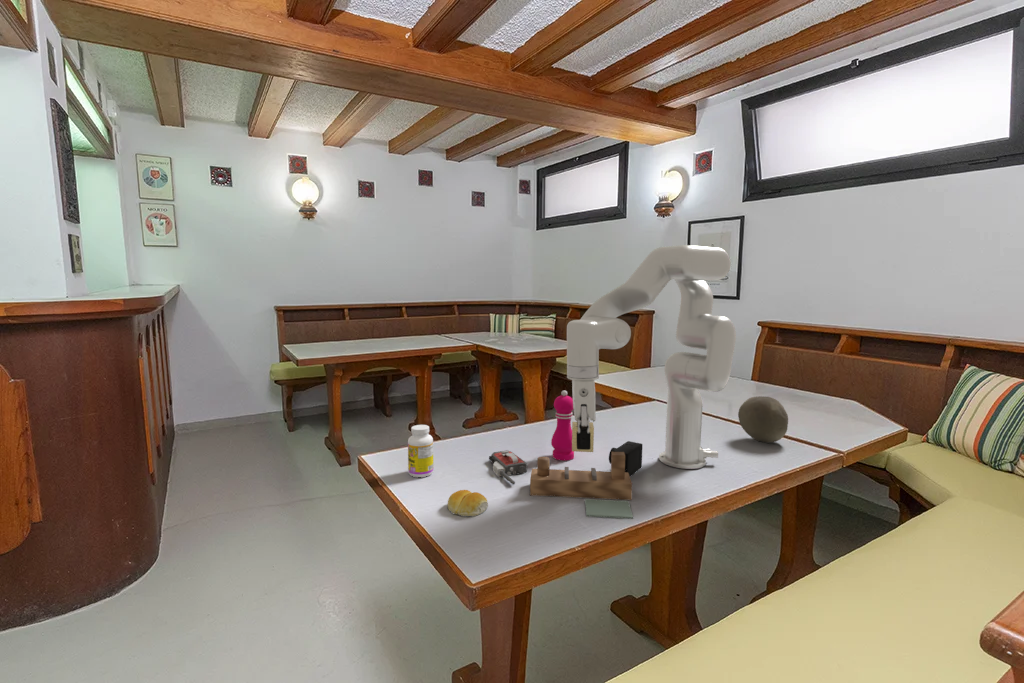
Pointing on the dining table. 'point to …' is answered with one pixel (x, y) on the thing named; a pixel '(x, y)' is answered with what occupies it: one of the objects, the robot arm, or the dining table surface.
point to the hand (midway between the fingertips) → (583, 444)
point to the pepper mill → (563, 428)
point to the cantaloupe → (763, 419)
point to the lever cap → (574, 437)
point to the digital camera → (630, 456)
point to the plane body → (582, 481)
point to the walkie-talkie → (507, 464)
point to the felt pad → (608, 508)
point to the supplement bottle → (420, 452)
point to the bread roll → (467, 503)
